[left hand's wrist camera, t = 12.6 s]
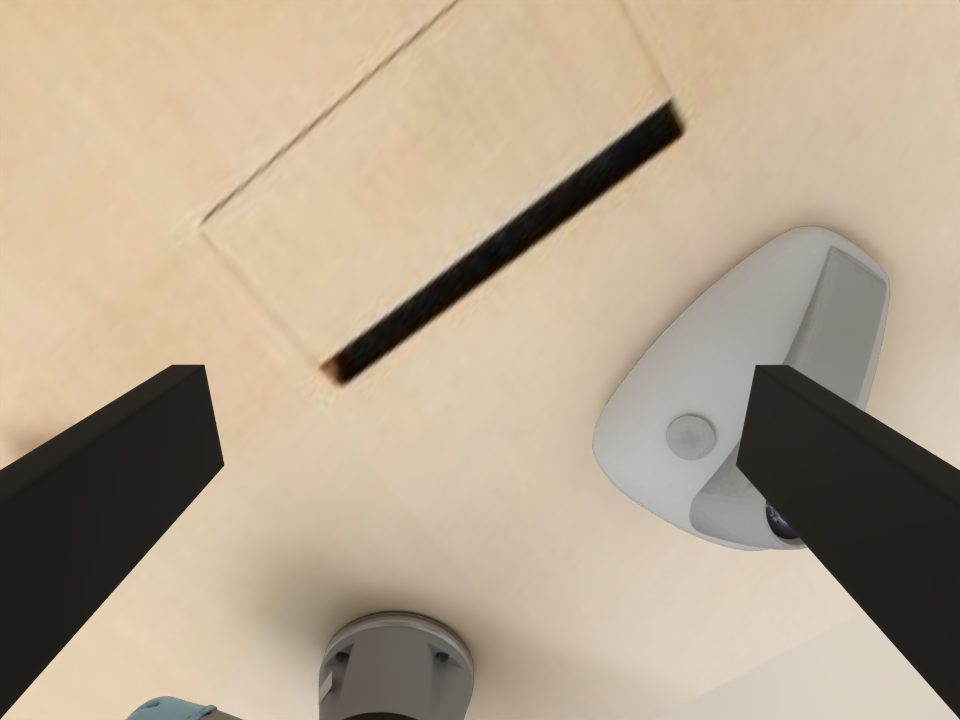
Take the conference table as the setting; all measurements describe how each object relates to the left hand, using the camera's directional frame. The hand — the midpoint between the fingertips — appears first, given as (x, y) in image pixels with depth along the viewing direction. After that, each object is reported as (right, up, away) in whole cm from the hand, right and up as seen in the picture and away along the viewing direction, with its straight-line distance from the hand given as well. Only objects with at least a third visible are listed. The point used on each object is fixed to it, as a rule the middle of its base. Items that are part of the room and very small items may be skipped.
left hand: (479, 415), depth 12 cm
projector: (+20, +1, +28) cm, 35 cm away
